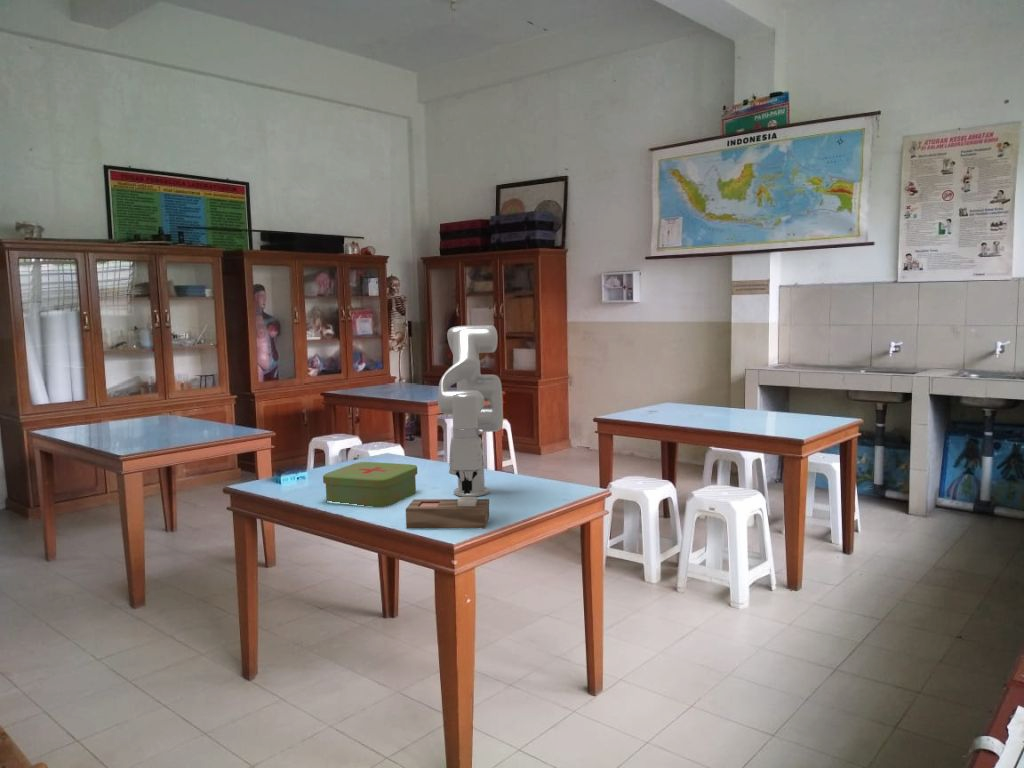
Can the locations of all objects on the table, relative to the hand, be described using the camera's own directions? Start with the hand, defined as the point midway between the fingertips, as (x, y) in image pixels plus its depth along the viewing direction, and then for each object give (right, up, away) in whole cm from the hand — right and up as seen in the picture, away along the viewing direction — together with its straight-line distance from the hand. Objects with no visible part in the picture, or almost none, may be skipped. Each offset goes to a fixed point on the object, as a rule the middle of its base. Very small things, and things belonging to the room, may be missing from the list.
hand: (467, 492), depth 232 cm
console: (-6, -10, +2) cm, 11 cm away
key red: (-12, -9, +2) cm, 15 cm away
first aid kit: (-36, -7, +38) cm, 53 cm away
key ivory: (0, -7, +1) cm, 7 cm away
